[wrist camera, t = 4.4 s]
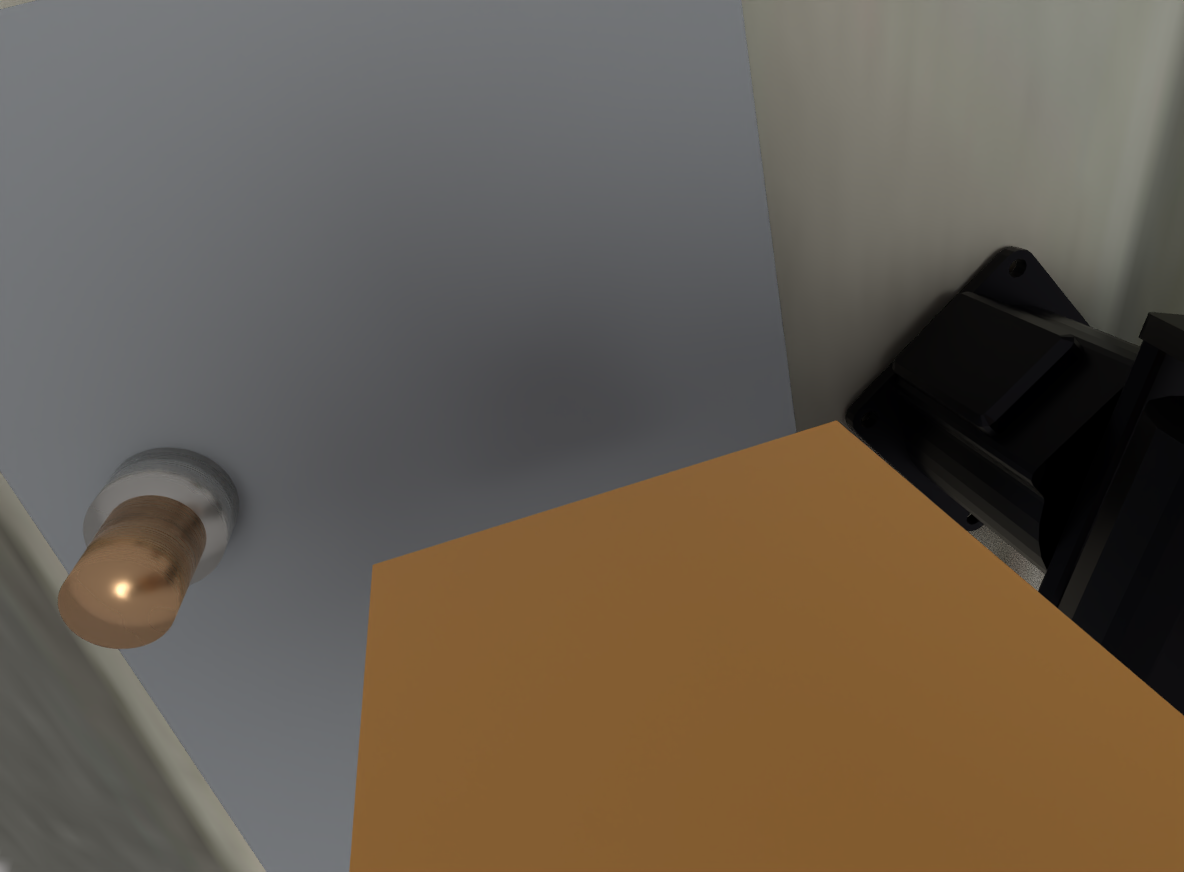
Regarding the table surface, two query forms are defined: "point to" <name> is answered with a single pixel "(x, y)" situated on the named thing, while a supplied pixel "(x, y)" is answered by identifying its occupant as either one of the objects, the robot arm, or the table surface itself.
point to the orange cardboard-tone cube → (750, 691)
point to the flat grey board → (367, 311)
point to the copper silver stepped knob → (148, 546)
